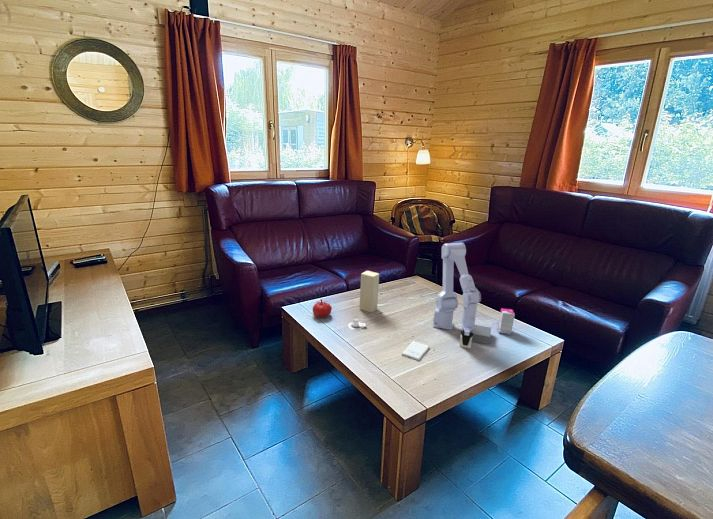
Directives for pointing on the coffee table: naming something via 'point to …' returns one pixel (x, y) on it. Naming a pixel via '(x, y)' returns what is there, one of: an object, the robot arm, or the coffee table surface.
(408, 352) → the external hard drive
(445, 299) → the robot arm
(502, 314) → the supplement box
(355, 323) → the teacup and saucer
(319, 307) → the pomegranate
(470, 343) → the cream cube
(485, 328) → the gray block
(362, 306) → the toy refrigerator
